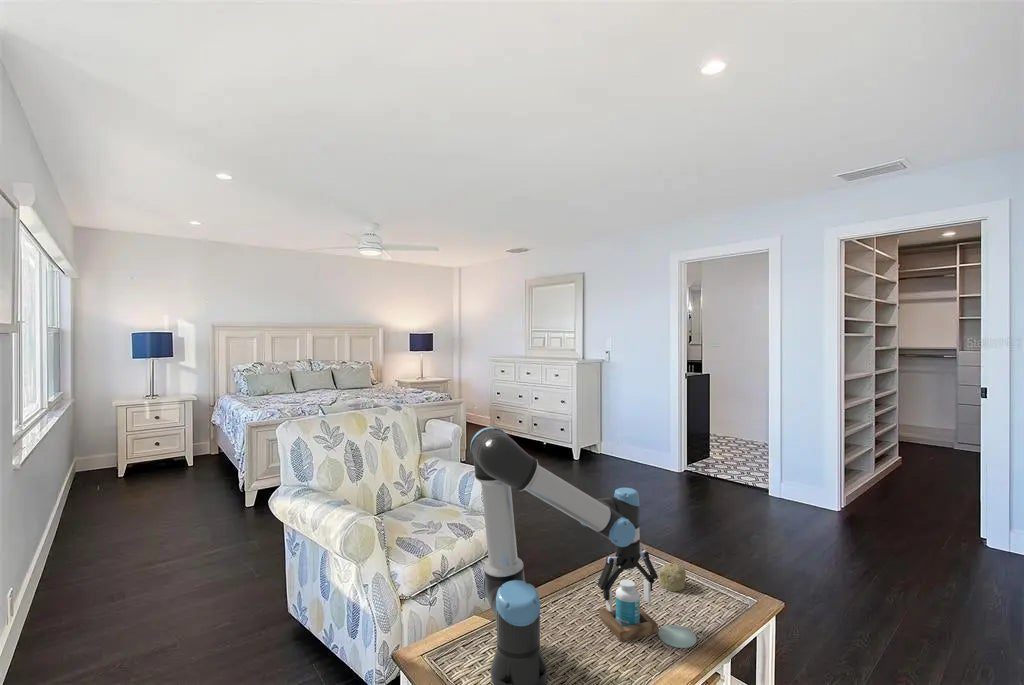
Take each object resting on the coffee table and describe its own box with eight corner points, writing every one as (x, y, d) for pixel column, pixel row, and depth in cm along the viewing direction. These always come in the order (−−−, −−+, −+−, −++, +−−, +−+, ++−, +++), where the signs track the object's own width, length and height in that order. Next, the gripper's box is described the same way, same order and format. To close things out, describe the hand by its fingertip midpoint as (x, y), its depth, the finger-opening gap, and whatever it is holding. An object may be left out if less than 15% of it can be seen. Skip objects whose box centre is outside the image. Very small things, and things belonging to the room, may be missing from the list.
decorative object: (657, 595, 182) (660, 581, 176) (657, 570, 190) (660, 555, 184) (684, 601, 180) (688, 586, 174) (683, 574, 188) (687, 560, 182)
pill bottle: (640, 633, 154) (640, 590, 154) (615, 630, 156) (615, 588, 155) (639, 619, 161) (639, 578, 161) (615, 617, 163) (615, 576, 162)
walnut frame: (620, 641, 150) (620, 632, 150) (599, 617, 163) (599, 609, 163) (657, 632, 154) (657, 623, 154) (634, 610, 167) (634, 602, 167)
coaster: (672, 651, 145) (672, 650, 145) (651, 629, 156) (651, 628, 156) (704, 643, 149) (704, 642, 149) (681, 623, 159) (681, 621, 159)
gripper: (597, 549, 150) (598, 619, 151) (668, 537, 158) (669, 603, 159) (586, 539, 157) (587, 606, 158) (654, 528, 165) (655, 592, 166)
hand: (628, 605), depth 158 cm, fingers open, 13 cm apart
